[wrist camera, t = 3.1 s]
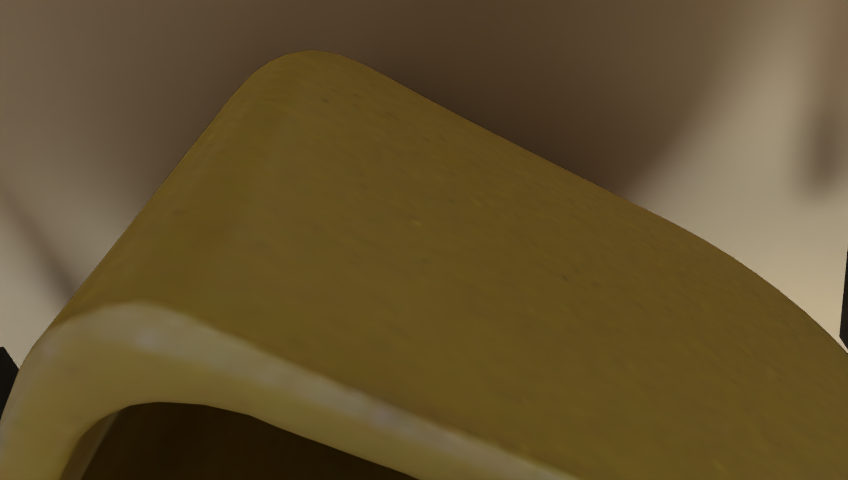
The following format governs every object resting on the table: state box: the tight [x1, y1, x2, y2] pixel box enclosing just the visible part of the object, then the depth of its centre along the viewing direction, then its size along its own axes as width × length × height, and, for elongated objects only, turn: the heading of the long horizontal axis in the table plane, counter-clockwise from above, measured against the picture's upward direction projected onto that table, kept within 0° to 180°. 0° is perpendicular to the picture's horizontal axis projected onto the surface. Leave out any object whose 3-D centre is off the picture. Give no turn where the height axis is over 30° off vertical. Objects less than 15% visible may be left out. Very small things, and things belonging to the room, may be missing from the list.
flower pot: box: [0, 50, 848, 480], centre depth 11 cm, size 9×9×9 cm
